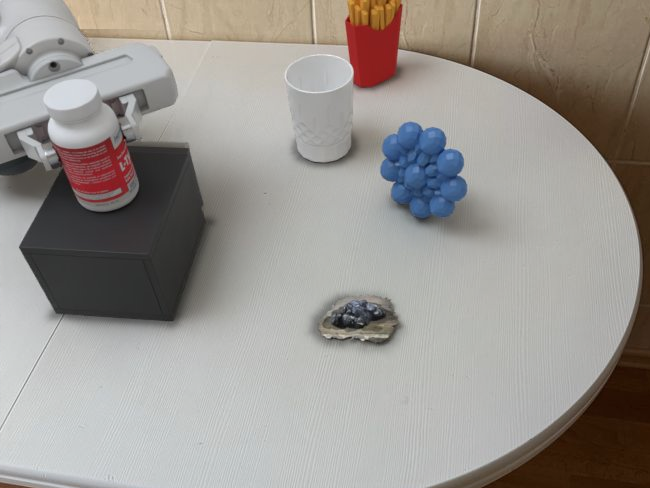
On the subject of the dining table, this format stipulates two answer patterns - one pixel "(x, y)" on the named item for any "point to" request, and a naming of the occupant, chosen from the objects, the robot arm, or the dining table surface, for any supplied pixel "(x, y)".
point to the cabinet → (119, 244)
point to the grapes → (423, 170)
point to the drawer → (164, 148)
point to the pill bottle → (90, 146)
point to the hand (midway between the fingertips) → (92, 149)
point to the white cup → (321, 105)
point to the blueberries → (359, 319)
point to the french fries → (373, 39)
